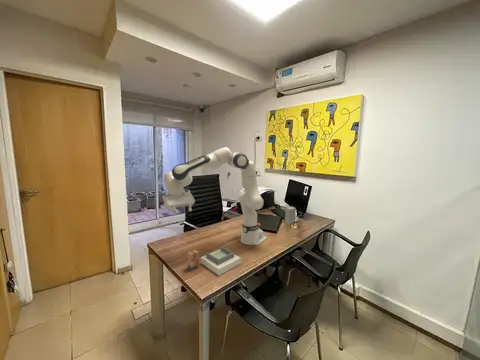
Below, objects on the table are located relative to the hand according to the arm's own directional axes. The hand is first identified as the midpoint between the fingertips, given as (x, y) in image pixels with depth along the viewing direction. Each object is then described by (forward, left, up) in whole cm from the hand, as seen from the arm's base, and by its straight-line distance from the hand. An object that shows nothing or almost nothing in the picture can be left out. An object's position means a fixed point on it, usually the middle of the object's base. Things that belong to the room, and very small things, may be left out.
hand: (184, 211), depth 128 cm
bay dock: (-14, +19, -33) cm, 40 cm away
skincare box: (-111, +10, -33) cm, 116 cm away
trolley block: (+1, +11, -33) cm, 34 cm away
